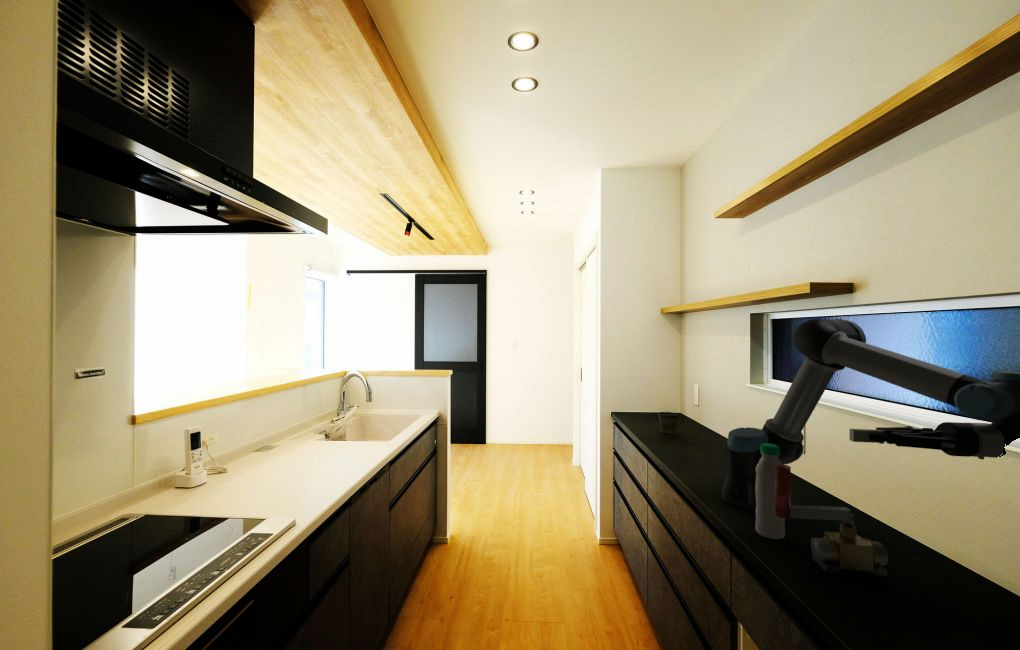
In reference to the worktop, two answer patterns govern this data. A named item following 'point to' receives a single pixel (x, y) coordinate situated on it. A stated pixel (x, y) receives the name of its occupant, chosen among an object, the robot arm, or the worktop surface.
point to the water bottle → (767, 494)
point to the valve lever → (800, 511)
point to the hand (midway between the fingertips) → (851, 435)
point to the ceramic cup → (668, 421)
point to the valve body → (849, 552)
